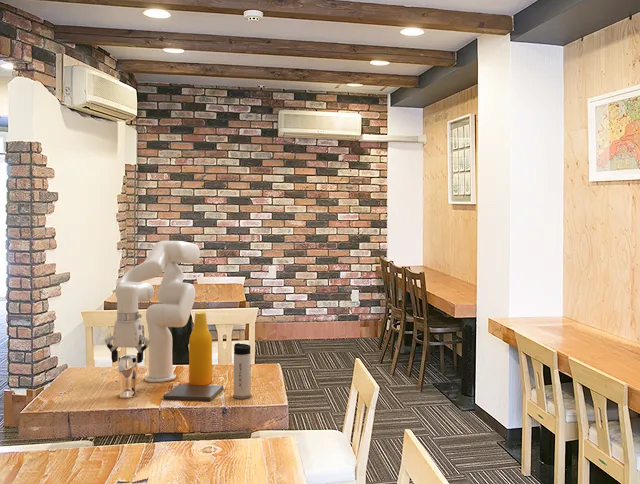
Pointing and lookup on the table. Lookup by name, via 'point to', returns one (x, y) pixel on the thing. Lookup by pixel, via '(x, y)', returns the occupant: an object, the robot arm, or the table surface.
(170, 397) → the serving board
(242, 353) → the travel mug
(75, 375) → the table surface
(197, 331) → the beer bottle
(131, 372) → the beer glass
